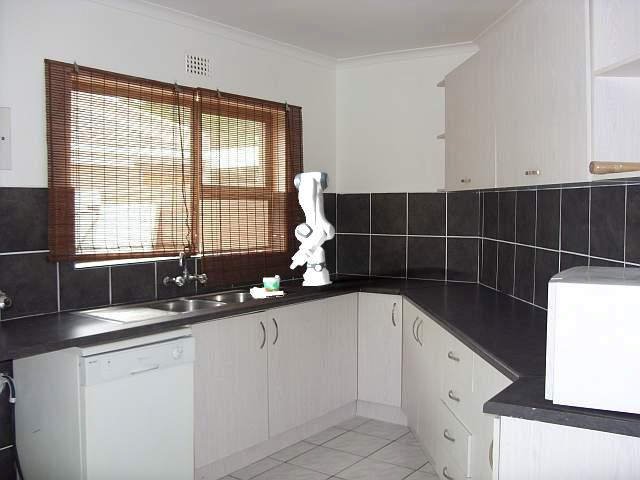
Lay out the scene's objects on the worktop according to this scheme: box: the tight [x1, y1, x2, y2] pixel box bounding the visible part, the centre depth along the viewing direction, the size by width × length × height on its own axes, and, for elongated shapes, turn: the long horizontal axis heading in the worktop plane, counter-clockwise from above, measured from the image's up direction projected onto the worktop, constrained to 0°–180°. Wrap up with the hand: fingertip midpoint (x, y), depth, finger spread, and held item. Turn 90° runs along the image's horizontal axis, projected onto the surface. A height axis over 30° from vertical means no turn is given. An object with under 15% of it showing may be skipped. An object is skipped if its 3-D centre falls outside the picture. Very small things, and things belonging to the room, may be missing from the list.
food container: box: [262, 275, 281, 293], centre depth 376 cm, size 12×6×10 cm, turn 146°
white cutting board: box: [250, 286, 284, 299], centre depth 375 cm, size 23×16×3 cm
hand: (291, 268), depth 378 cm, fingers closed
